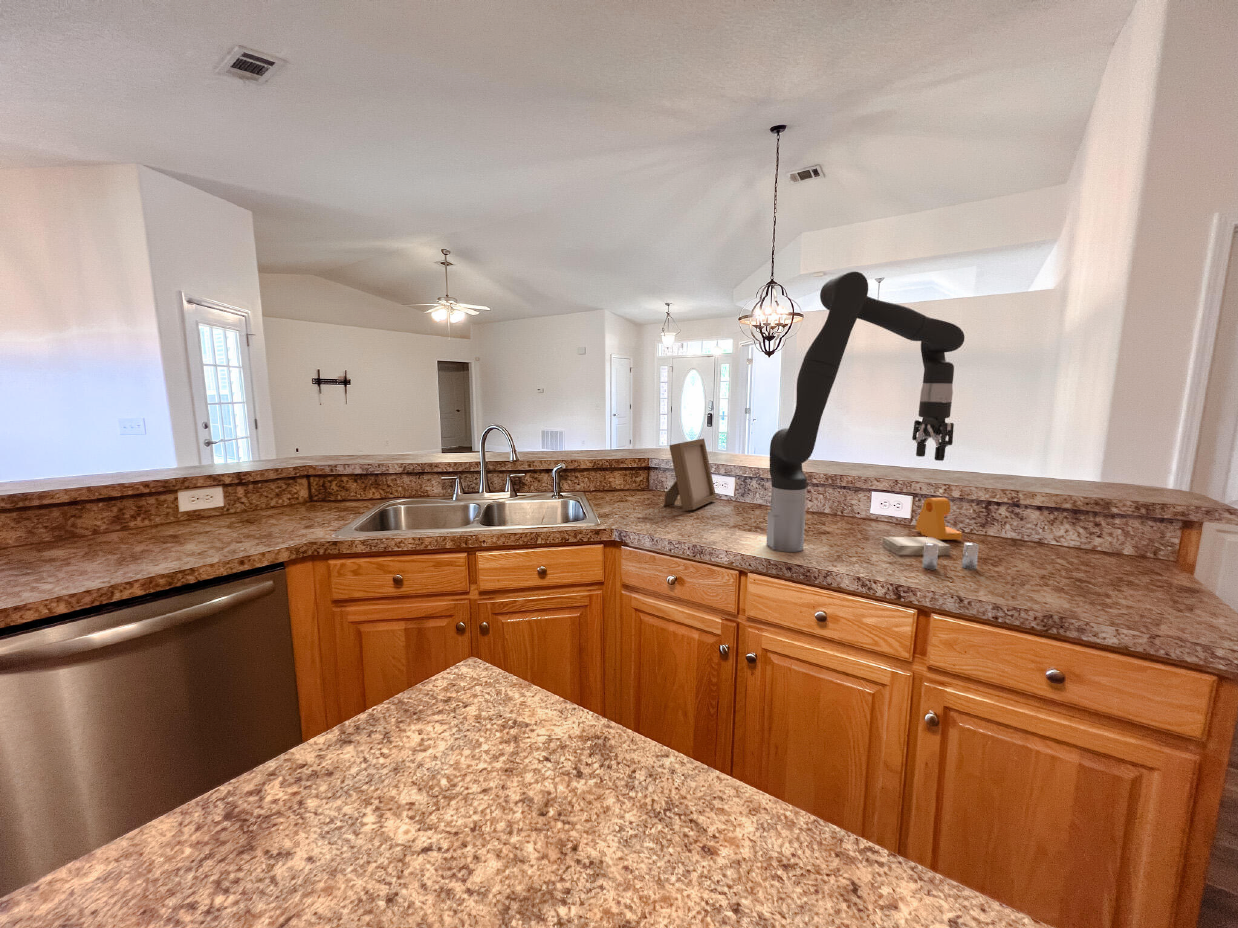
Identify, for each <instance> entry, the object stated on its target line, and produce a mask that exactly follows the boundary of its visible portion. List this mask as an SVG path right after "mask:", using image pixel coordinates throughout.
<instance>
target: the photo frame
mask: <svg viewBox="0 0 1238 928" xmlns="http://www.w3.org/2000/svg"><path fill="white" fill-rule="evenodd" d="M668 446H669V451H670V455H671V461H672V465H673V470H674V475H675V479H676V480H675V481H674V482H673V483H672V485H670V487H669V488H668V490H667V491H666V492H665V494H664V501H663V504H664V505H663V506H668V505H669V506H670V505H675V503H676V501H677V499H678V498H679V499H680V504H681V509H682V511H683V512H685V511H693V510H696V509H698V508H701V507H703V506H704V505H706V504H709V503H711V502H713V501H715V500H717V494H716V490H715V484H714V481H713V475H712V471H711V465H710V462H709V456H708V450H707V445H706V441H705V438H699V439H694V440H688V441H682V442H679V443H674V444H669V445H668Z"/></svg>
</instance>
